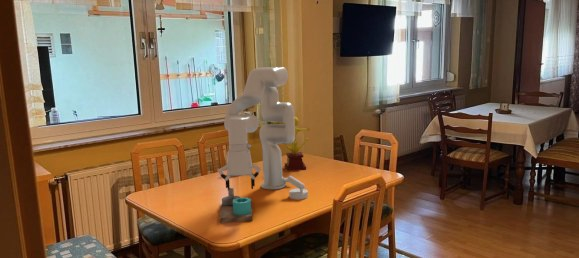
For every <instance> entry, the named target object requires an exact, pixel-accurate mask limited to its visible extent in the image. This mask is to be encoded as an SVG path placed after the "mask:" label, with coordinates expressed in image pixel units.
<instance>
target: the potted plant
mask: <svg viewBox="0 0 579 258" xmlns="http://www.w3.org/2000/svg"><path fill="white" fill-rule="evenodd" d="M299 122H300V121H299V118H298V117H297V116H295V139H294V142H293V143H291V145H292V146H289V145H288V144H283V145H284V146H285V147H286V148H287V149H288V150H289V151H290V152H286V157H287V159H286V162H285V163H284V168H285V170H286V171H288V172H289V171H291V172H292V171H302V170H303V171H304V170H307V166H306V164H305V162H304V161H303V158H304V154H303V152H302V151H301V149H302V148H303V147H304V145H305V143H306V142H307V141H309V138H308V137H307V138H305V140H304V141H303V142H302V143H301V144H300V145H299V146H298V141H296V138H297V135H298V133H299V132H300V131H307V132H310V126H307V128H298V127H297V126H298V125H299Z"/></svg>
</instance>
